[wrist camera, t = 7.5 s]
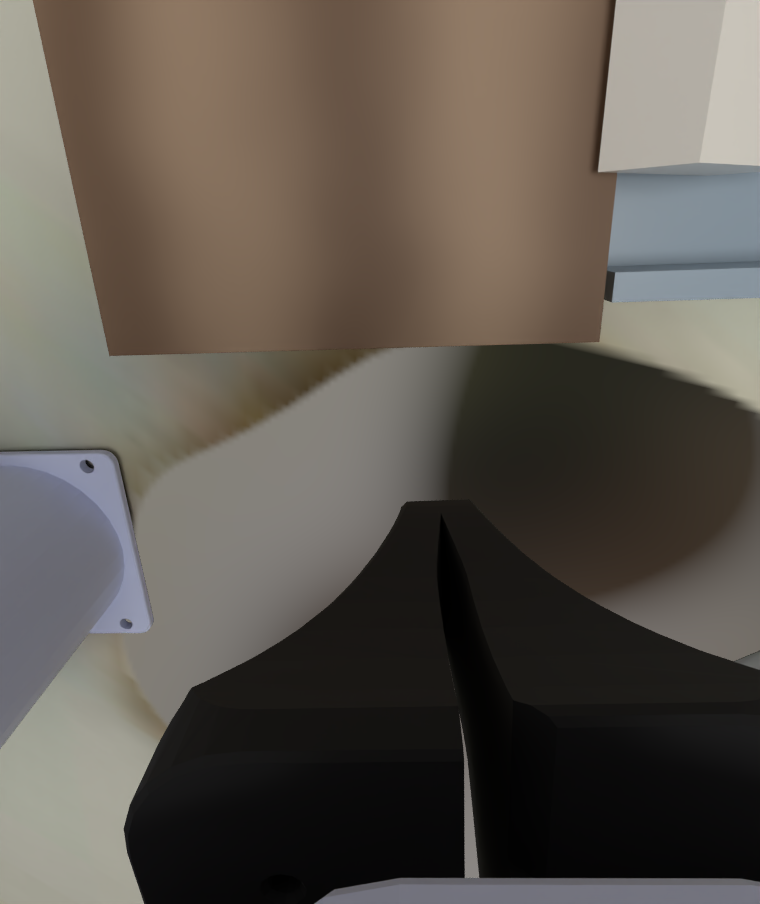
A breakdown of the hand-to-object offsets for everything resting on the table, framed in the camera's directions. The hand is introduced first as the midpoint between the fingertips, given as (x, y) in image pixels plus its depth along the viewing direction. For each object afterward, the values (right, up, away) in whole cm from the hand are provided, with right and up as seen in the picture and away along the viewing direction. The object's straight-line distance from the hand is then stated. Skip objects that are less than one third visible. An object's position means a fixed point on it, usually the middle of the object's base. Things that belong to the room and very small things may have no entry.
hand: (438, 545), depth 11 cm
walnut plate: (-2, +12, +5) cm, 14 cm away
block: (+6, +12, +3) cm, 13 cm away
